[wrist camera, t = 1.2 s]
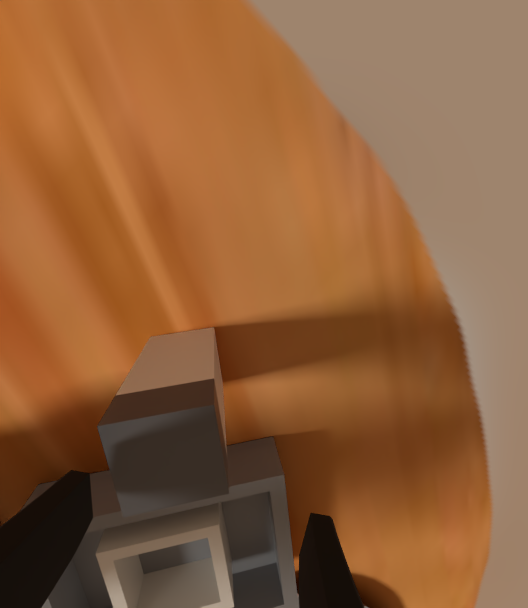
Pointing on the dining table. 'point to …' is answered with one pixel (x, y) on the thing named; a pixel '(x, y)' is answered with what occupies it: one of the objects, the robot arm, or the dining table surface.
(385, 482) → the dining table surface
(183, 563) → the caddy
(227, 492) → the block
